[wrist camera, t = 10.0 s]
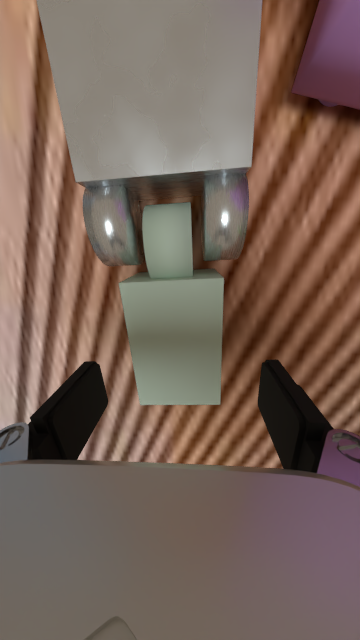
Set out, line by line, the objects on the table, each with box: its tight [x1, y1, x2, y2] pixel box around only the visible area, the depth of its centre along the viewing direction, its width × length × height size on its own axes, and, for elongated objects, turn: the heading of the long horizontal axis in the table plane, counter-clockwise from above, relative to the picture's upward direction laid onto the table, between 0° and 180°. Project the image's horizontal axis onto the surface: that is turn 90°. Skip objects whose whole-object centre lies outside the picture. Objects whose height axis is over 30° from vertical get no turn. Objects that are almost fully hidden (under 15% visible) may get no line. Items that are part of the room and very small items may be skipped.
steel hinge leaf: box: [37, 0, 262, 266], centre depth 11 cm, size 9×12×5 cm
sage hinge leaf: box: [119, 202, 224, 405], centre depth 15 cm, size 6×14×5 cm, turn 3°
